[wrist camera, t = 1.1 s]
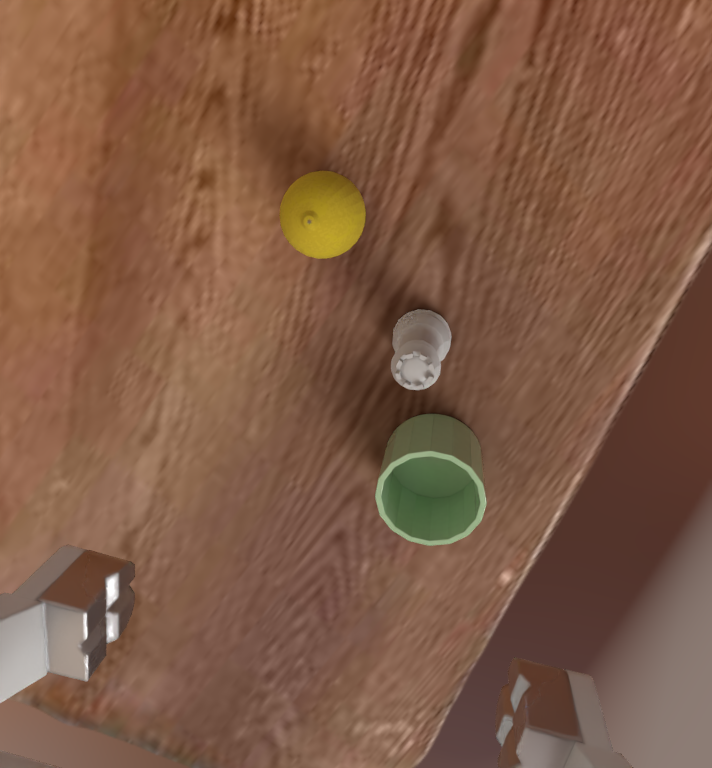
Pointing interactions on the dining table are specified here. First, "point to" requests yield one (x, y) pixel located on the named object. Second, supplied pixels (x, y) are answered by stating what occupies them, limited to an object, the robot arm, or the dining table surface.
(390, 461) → the cup
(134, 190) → the dining table surface
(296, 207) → the lemon
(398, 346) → the rook chess piece
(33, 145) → the dining table surface
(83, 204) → the dining table surface
